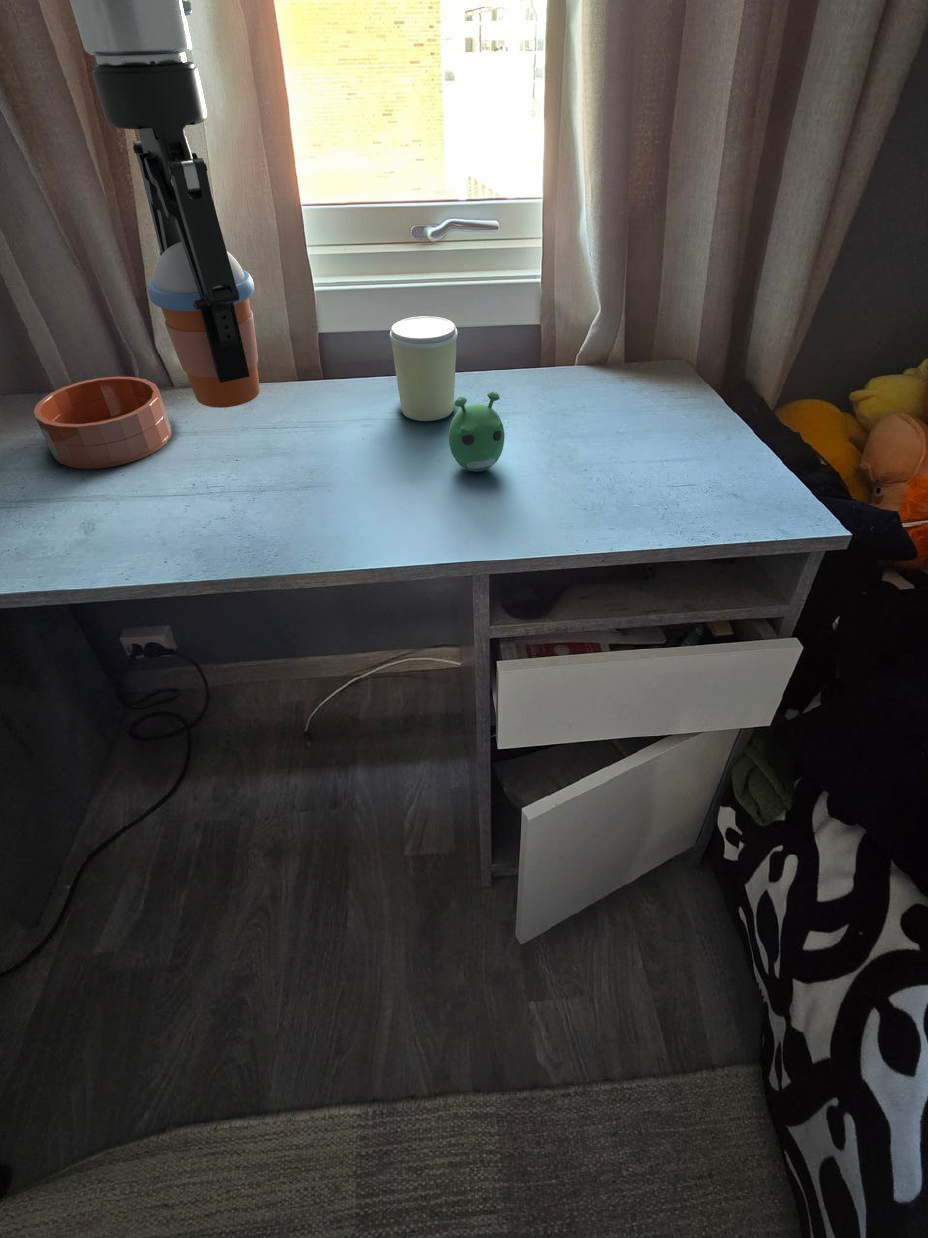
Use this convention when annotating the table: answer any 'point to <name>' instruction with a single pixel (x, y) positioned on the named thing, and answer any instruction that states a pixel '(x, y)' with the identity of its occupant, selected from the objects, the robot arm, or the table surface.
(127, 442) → the bowl
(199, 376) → the cup with straw
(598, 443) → the table surface
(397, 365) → the coffee cup
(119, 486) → the table surface
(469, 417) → the alien toy
